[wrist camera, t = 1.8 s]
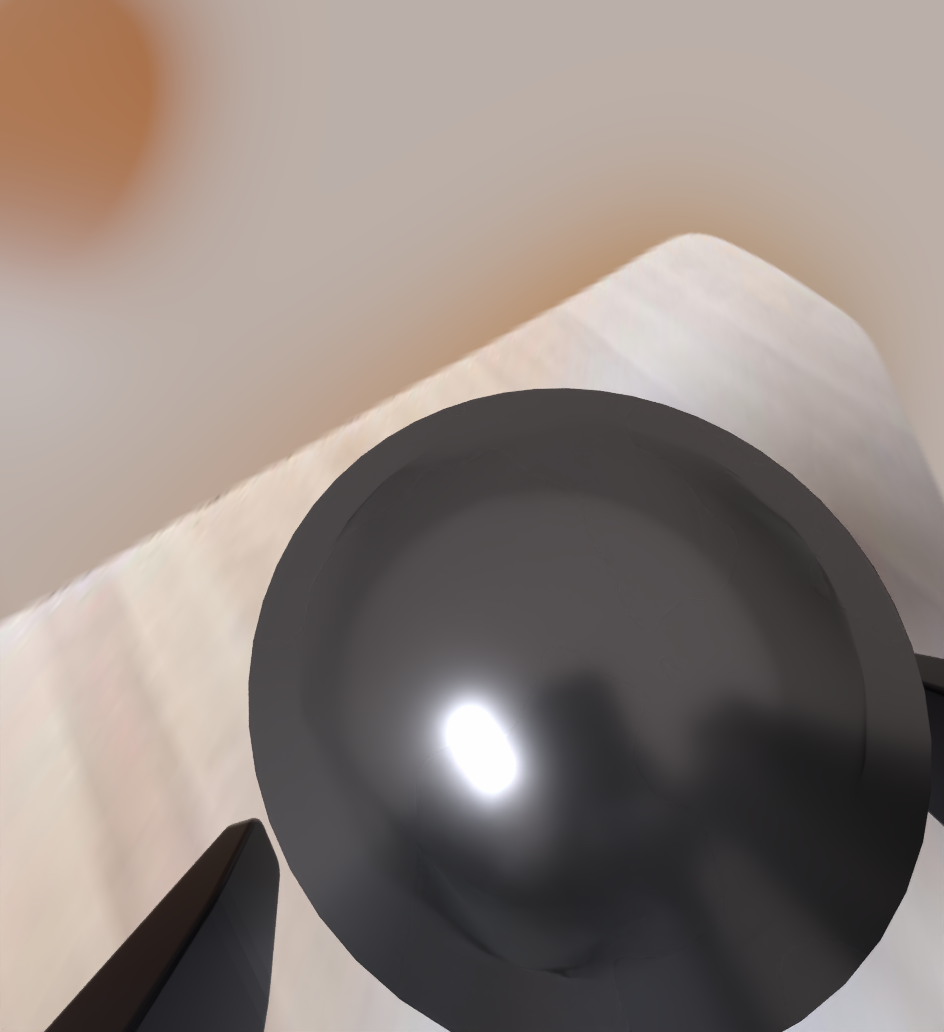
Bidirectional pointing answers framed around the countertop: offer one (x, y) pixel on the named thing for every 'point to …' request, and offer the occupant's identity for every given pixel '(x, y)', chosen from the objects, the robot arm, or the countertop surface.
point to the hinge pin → (589, 723)
